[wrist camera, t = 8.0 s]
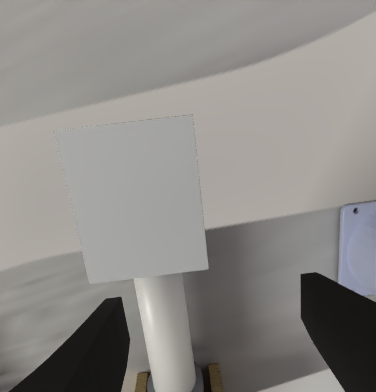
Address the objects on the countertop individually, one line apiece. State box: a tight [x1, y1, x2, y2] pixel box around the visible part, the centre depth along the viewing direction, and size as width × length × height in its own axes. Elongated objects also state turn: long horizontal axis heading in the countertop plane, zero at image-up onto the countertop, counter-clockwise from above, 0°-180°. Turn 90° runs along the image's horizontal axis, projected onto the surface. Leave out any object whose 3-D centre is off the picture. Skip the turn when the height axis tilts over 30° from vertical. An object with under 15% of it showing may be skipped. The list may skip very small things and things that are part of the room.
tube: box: [134, 273, 204, 392], centre depth 19 cm, size 18×4×4 cm, turn 6°
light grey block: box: [54, 115, 209, 284], centre depth 16 cm, size 8×6×6 cm
